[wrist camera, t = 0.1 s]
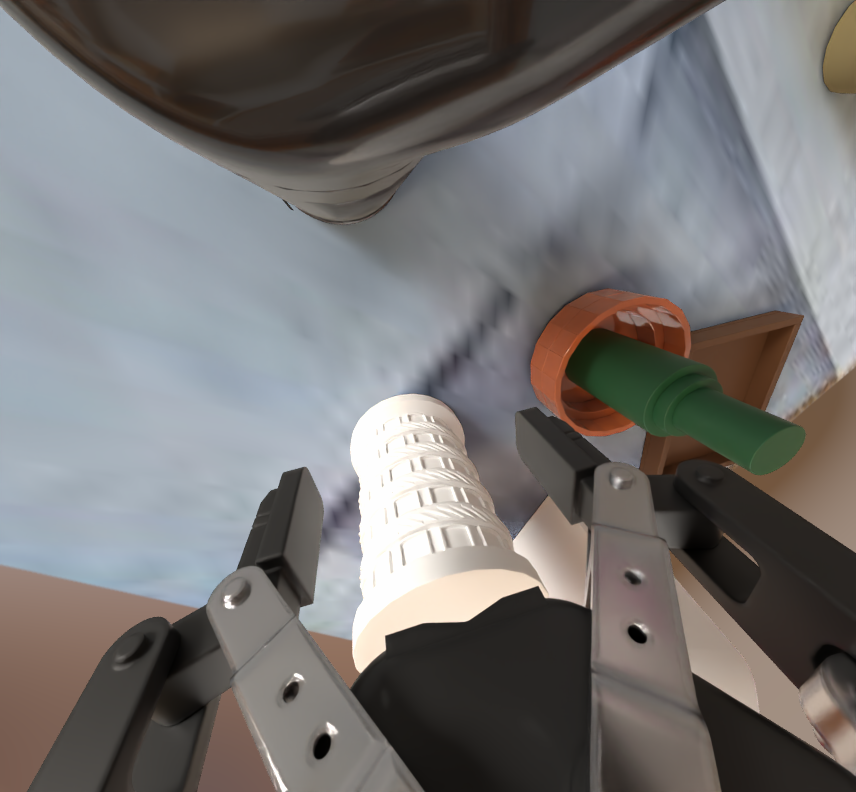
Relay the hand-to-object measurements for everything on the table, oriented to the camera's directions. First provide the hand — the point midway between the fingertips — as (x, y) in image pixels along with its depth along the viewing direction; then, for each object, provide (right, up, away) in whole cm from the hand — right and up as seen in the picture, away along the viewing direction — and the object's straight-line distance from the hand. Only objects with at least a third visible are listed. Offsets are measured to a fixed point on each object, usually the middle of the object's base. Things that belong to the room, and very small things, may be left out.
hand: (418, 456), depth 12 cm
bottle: (+17, +6, +20) cm, 27 cm away
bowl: (+17, +6, +20) cm, 27 cm away
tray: (+34, +2, +27) cm, 43 cm away
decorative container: (-2, -3, +21) cm, 21 cm away
